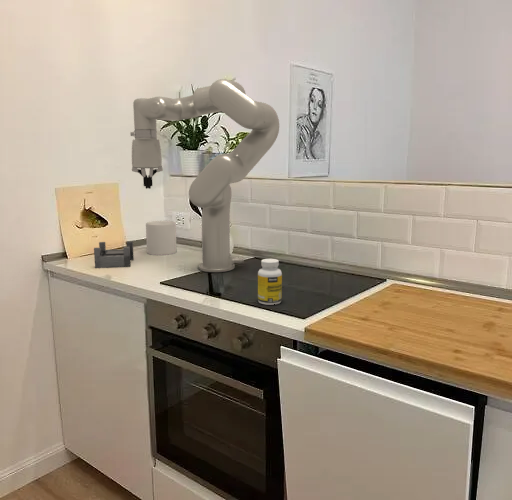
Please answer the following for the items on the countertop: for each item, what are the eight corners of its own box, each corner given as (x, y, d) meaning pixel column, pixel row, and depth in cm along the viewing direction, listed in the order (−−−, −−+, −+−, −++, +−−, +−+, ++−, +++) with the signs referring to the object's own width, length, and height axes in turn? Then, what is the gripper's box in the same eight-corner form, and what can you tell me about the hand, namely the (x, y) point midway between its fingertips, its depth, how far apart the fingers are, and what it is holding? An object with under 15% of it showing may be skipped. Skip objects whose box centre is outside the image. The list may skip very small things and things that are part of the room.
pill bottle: (261, 306, 134) (261, 263, 132) (255, 299, 140) (255, 258, 138) (284, 304, 136) (285, 262, 133) (277, 297, 142) (277, 257, 139)
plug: (128, 262, 187) (127, 250, 186) (126, 265, 182) (126, 253, 181) (103, 263, 185) (102, 251, 185) (101, 266, 181) (100, 254, 180)
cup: (152, 256, 196) (150, 225, 193) (143, 251, 206) (142, 222, 203) (180, 253, 201) (179, 223, 199) (171, 248, 211) (169, 219, 209)
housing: (133, 259, 191) (132, 241, 189) (130, 266, 179) (129, 247, 177) (100, 260, 189) (99, 241, 188) (95, 268, 177) (93, 248, 176)
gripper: (122, 135, 172) (125, 189, 176) (167, 135, 174) (169, 188, 178) (125, 135, 179) (127, 187, 183) (167, 135, 181) (169, 187, 185)
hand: (148, 188), depth 180 cm, fingers closed
